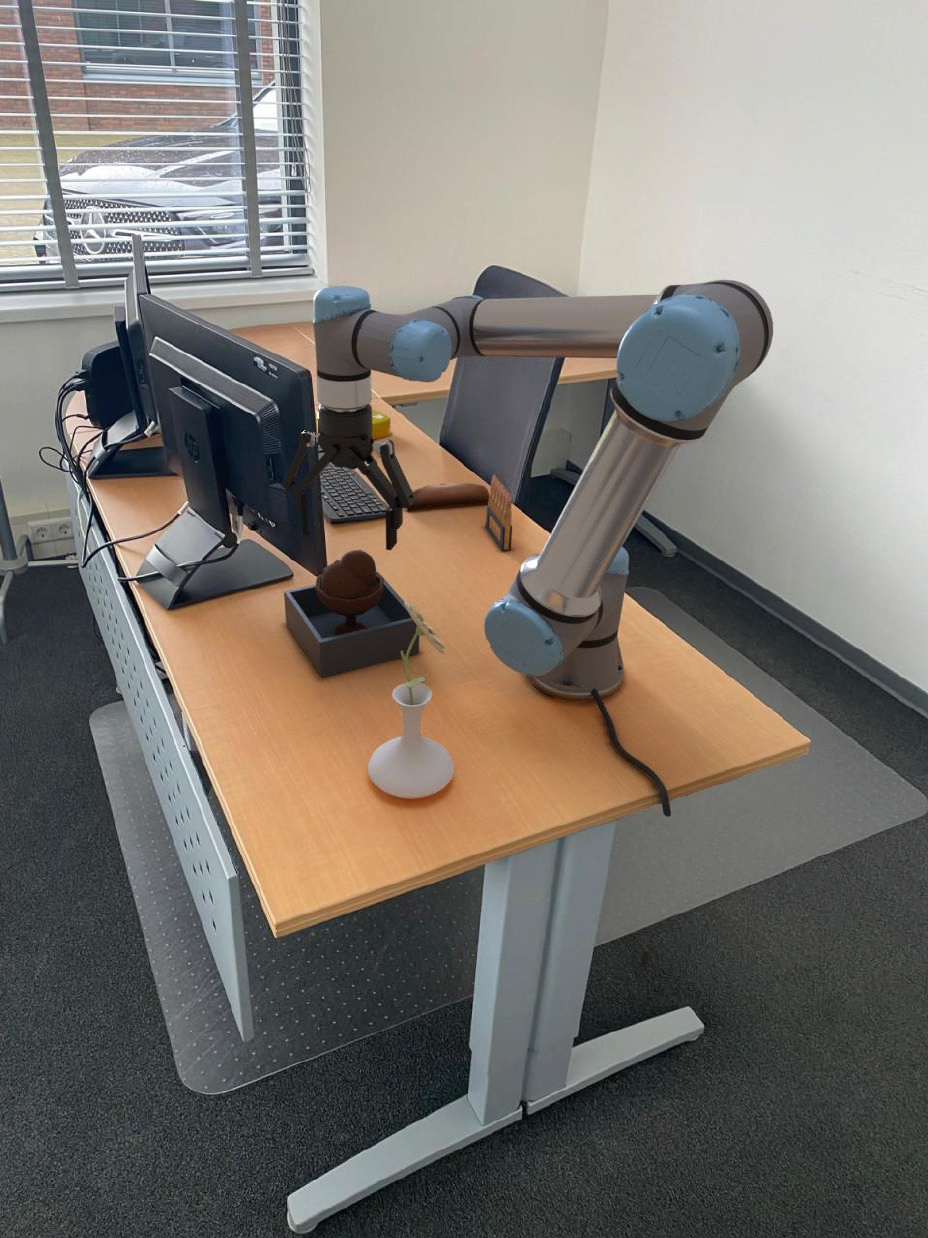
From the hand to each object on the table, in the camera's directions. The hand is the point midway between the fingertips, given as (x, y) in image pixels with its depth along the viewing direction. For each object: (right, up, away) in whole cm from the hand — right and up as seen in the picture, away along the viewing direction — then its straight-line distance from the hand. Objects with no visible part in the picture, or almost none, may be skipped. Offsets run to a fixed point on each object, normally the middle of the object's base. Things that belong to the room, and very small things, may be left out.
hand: (349, 539), depth 139 cm
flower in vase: (+10, -33, -17) cm, 38 cm away
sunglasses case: (+13, +13, +56) cm, 59 cm away
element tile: (-11, +34, +88) cm, 95 cm away
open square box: (-1, -15, +10) cm, 18 cm away
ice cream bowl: (-1, -15, +9) cm, 18 cm away
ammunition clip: (+24, +4, +42) cm, 49 cm away
